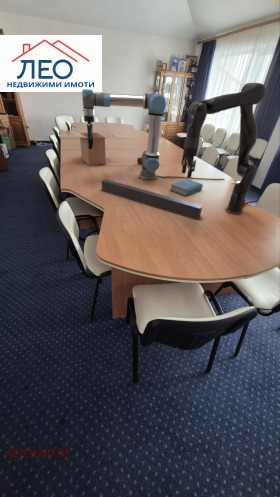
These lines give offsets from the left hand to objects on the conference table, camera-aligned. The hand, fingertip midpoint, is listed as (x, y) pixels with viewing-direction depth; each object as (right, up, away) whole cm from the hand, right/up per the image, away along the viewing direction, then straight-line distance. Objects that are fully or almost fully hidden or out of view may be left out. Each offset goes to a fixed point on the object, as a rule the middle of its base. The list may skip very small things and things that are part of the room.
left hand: (91, 146), depth 173 cm
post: (+43, -46, -12) cm, 64 cm away
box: (-12, +14, +64) cm, 67 cm away
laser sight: (+46, +11, +66) cm, 82 cm away
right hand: (+66, -37, -43) cm, 86 cm away
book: (+77, -31, +13) cm, 84 cm away
